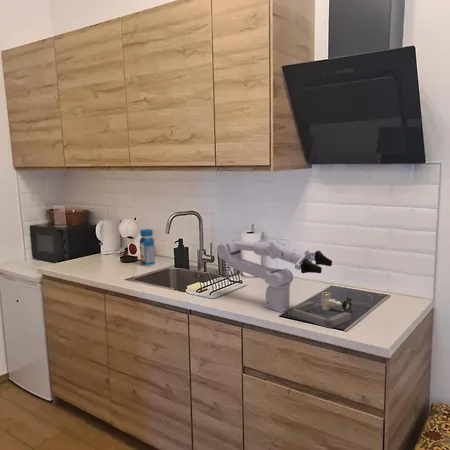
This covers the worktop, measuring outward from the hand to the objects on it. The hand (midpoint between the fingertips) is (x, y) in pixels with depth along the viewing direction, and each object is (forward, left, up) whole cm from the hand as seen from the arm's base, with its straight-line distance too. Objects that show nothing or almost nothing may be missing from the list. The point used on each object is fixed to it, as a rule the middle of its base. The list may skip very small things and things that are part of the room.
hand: (326, 267), depth 176 cm
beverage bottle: (-123, -2, -21) cm, 125 cm away
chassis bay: (-3, 0, -20) cm, 21 cm away
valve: (-3, +10, -21) cm, 23 cm away
